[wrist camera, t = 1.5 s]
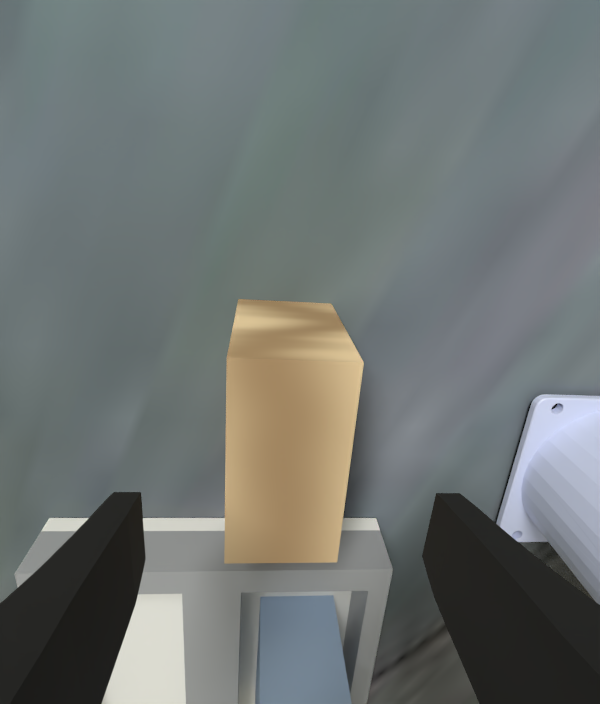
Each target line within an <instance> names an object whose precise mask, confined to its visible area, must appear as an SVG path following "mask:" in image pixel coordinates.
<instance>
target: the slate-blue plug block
mask: <svg viewBox="0 0 600 704" xmlns="http://www.w3.org/2000/svg"><path fill="white" fill-rule="evenodd" d="M255 704H352V703H351V697H350V691H349V685H348V679H347V673H346V667H345V661H344V656H343V650H342V644H341V638H340V632H339V626H338V620H337V614H336V608H335V603H334V597H333V595H323V596H266V597H260V613H259V632H258V651H257V670H256V689H255Z"/></svg>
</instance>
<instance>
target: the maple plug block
mask: <svg viewBox="0 0 600 704" xmlns="http://www.w3.org/2000/svg"><path fill="white" fill-rule="evenodd" d="M363 365H364V362H363V360H362V359H361V357H360V355H359V353H358V351H357V349H356V348H355V346H354V344H353V342H352V340H351V339H350V337H349V335H348V333H347V331H346V329H345V328H344V326H343V324H342V322H341V320H340V318H339V317H338V315H337V313H336V311H335V309H334V308H333V306H332V304H327V303H306V302H286V301H265V300H245V299H238V304H237V309H236V314H235V319H234V324H233V329H232V334H231V339H230V344H229V349H228V354H227V384H226V467H225V550H224V564H231V563H331V562H337V559H338V552H339V544H340V537H341V529H342V522H343V514H344V507H345V499H346V492H347V485H348V477H349V470H350V462H351V455H352V447H353V440H354V432H355V425H356V417H357V410H358V402H359V395H360V387H361V380H362V372H363Z"/></svg>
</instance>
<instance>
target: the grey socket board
mask: <svg viewBox="0 0 600 704" xmlns="http://www.w3.org/2000/svg"><path fill="white" fill-rule="evenodd" d="M87 520H88V518H49V520H48V521H47V523H46V524H45V526H44V528H43V529H42V531H41V532H40V534H39V536H38V537H37V539H36V540H35V542H34V543H33V545H32V547H31V548H30V550H29V551H28V553H27V555H26V556H25V558H24V559H23V561H22V563H21V564H20V566H19V567H18V569H17V571H16V572H15V578H16V582H17V587H19V586H20V585H21V584H22V583H23V582H25V581H26V580H27V579H28V578H29V577H30V576H31V575H32V574H33V573H34V572H36V571H37V570H38V569H39V568H40V567H41V566H42V565H43V564H44V563H45V562H46V561H47V560H48V559H49V558H50V557H51V556H52V555H53V554H54V553H55V552H56V551H57V550H58V549H59V548H60V547H61V546H62V545H63V544H64V543H65V542H66V541H67V540H68V539H69V538H70V537H71V536H72V535H73V534H74V533H75V532H76V531H77V530H78V529H79V528H80V527H81V526H82V525H83V524H84V523H85V522H86V521H87ZM143 528H144V542H145V556H146V560H145V565H144V569H143V574H142V578H141V583H140V587H139V592H138V596H137V600H136V604H135V607H134V610H133V613H132V616H131V619H130V622H129V625H128V628H127V631H126V634H125V637H124V640H123V643H122V646H121V649H120V651H119V654H118V657H117V660H116V663H115V666H114V669H113V672H112V675H111V678H110V680H109V683H108V686H107V689H106V692H105V695H104V698H103V701H102V704H255V689H256V670H257V651H258V632H259V613H260V597H266V596H323V595H333V597H334V603H335V608H336V614H337V620H338V626H339V632H340V638H341V644H342V650H343V656H344V661H345V667H346V673H347V679H348V685H349V691H350V697H351V703H352V704H367V700H368V694H369V689H370V684H371V679H372V674H373V669H374V664H375V659H376V654H377V648H378V643H379V638H380V633H381V628H382V623H383V618H384V613H385V608H386V603H387V597H388V592H389V587H390V582H391V577H392V572H393V568H392V565H391V562H390V559H389V556H388V553H387V550H386V547H385V544H384V541H383V538H382V535H381V532H380V529H379V526H378V523H377V520H376V518H343V522H342V529H341V537H340V544H339V552H338V559H337V562H331V563H231V564H224V550H225V518H143Z"/></svg>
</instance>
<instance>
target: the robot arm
mask: <svg viewBox="0 0 600 704" xmlns="http://www.w3.org/2000/svg"><path fill="white" fill-rule="evenodd" d="M555 404H557V406H556V407H555V408H554V409H552V407H553V406H554V405H555ZM515 531H516V532H515ZM518 542H549V543H550V544H551V546H552V547H553V548H554V550H555V551H556V552H557V553H558V555H559V556H560V557H561V558H562V560H563V561H564V562H565V564H566V565H567V566H568V567H569V569H570V570H571V571H572V572H573V574H574V575H575V576H576V577H577V579H578V580H579V581H580V583H581V584H582V585H583V586H584V588H585V589H586V590H587V591H588V593H589V594H590V595H591V597H592V598H593V599H594V600H595V601H593V600H592V599H591V598H589V597H588V596H586V595H585V594H584V593H582V592H581V591H580V590H578V589H577V588H576V587H574V586H573V585H572V584H570V583H569V582H568V581H566V580H565V579H564V578H562V577H561V576H560V575H558V574H557V573H556V572H554V571H553V570H552V569H551V568H549V567H548V566H547V565H546V564H544V563H543V562H542V561H540V560H539V559H538V558H537V557H536V556H534V555H533V554H532V553H531V552H529V551H528V550H527V549H526V548H524V547H523V546H522V545H521V544H520V543H518ZM422 557H423V560H424V564H425V567H426V571H427V575H428V578H429V581H430V585H431V588H432V591H433V594H434V598H435V600H436V602H437V605H438V607H439V610H440V612H441V614H442V617H443V619H444V622H445V624H446V626H447V629H448V631H449V633H450V636H451V638H452V640H453V643H454V645H455V647H456V650H457V652H458V654H459V657H460V659H461V661H462V664H463V666H464V668H465V671H466V673H467V675H468V678H469V680H470V682H471V685H472V687H473V689H474V692H475V694H476V696H477V699H478V701H479V704H600V396H583V395H549V394H544V395H540V396H538V397H536V398H535V399H534V400H533V401H532V403H531V406H530V410H529V413H528V416H527V420H526V423H525V427H524V430H523V433H522V437H521V440H520V444H519V447H518V450H517V454H516V457H515V461H514V464H513V468H512V471H511V474H510V478H509V481H508V485H507V488H506V491H505V495H504V498H503V502H502V505H501V508H500V512H499V515H498V519H497V522H496V523H495V522H494V521H492V520H491V519H490V518H489V517H488V516H487V515H485V514H484V513H483V512H482V511H481V510H479V509H478V508H477V507H476V506H475V505H473V504H472V503H471V502H470V501H469V500H467V499H466V498H465V497H464V496H462V495H461V494H460V493H436V497H435V502H434V506H433V510H432V515H431V519H430V524H429V528H428V533H427V537H426V542H425V546H424V550H423V555H422ZM145 560H146V556H145V542H144V528H143V515H142V501H141V492H114V493H113V494H112V495H110V496H109V497H108V498H107V499H106V500H105V501H104V503H103V504H102V505H101V506H100V507H99V508H98V509H97V510H96V511H95V512H94V513H93V514H92V515H91V516H90V517H89V518H88V520H87V521H86V522H85V523H84V524H83V525H82V526H81V527H80V528H79V529H78V530H77V531H76V532H75V533H74V534H73V535H72V536H71V537H70V538H69V539H68V540H67V541H66V542H65V543H64V544H63V545H62V546H61V547H60V548H59V549H58V550H57V551H56V552H55V553H54V554H53V555H52V556H51V557H50V558H49V559H48V560H47V561H46V562H45V563H44V564H43V565H42V566H41V567H40V568H39V569H38V570H37V571H36V572H34V573H33V574H32V575H31V576H30V577H29V578H28V579H27V580H26V581H25V582H23V583H22V584H21V585H20V586H19V587H18V588H17V589H16V590H15V591H14V592H13V593H11V594H10V595H9V596H8V597H7V598H6V599H5V600H4V601H3V602H1V603H0V704H102V701H103V698H104V695H105V692H106V689H107V686H108V683H109V680H110V678H111V675H112V672H113V669H114V666H115V663H116V660H117V657H118V654H119V651H120V649H121V646H122V643H123V640H124V637H125V634H126V631H127V628H128V625H129V622H130V619H131V616H132V613H133V610H134V607H135V604H136V600H137V596H138V592H139V587H140V583H141V578H142V574H143V569H144V565H145Z"/></svg>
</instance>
